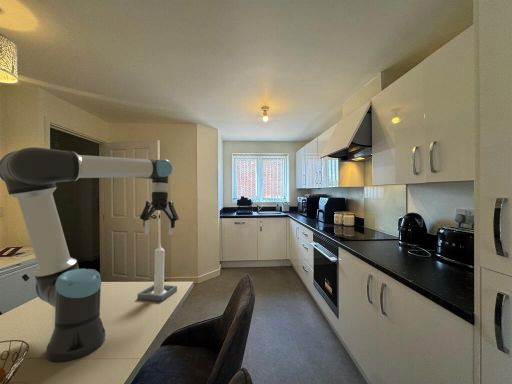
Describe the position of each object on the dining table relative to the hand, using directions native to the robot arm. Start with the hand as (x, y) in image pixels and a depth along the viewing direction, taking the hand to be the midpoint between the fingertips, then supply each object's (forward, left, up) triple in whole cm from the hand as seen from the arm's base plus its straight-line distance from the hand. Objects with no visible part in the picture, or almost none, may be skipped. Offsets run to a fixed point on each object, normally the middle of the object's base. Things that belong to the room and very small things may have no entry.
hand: (158, 234), depth 115 cm
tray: (0, 0, -30) cm, 30 cm away
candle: (0, -1, -30) cm, 30 cm away
